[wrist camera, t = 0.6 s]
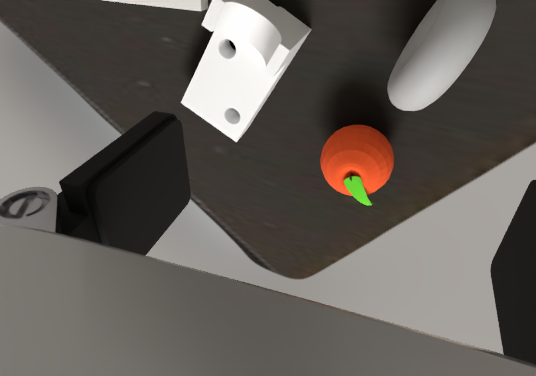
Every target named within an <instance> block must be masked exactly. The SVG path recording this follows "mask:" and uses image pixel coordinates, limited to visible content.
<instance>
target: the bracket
mask: <svg viewBox="0 0 536 376" xmlns="http://www.w3.org/2000/svg"><path fill="white" fill-rule="evenodd" d="M202 26H204V27H205V28H207V29H208V30H209V31H211V32H212V31H214V33H213V35H212V37H211V39H210V41H209V44H208V46H207V48H206V50H205V52H204V54H203V56H202V59H201V61H200V63H199V65H198V67H197V69H196V71H195V74H194V76H193V78H192V80H191V82H190V84H189V87H188V89H187V91H186V93H185V95H184V97H183V99H182V102H181V103H182V104H183V105H185V106H186V107H188V108H189V109H190V110H192V111H193V112H195V113H196V114H197V115H199V116H200V117H202V118H203V119H204V120H206V121H207V122H209V123H210V124H212V125H213V126H214V127H216V128H217V129H219V130H220V131H221V132H223V133H224V134H226V135H227V136H228V137H230V138H231V139H233V140H234V141H235V142H237V141H238V140H239V139H240V137H241V136H242V135H243V134H244V133H245V131H246V130H247V129H248V127H249V126H250V124H251V123H252V121H253V120H254V118H255V117H256V115H257V113H258V112H259V110H260V109H261V107H262V106H263V104H264V102H265V101H266V99H267V98H268V96H269V95H270V93H271V92H272V90H273V88H274V87H275V85H276V84H277V82H278V81H279V79H280V78H281V76H282V74H283V73H284V71H285V70H286V68H287V67H288V65H289V63H290V62H291V60H292V59H293V57H294V56H295V54H296V53H297V51H298V49H299V48H300V46H301V45H302V43H303V42H304V40H305V39H306V37H307V35H308V34H309V32H310V31H311V29H310V28H309V27H308V26H306V25H305V24H304V23H302V22H301V21H300V20H298V19H297V18H296V17H294V16H293V15H292V14H290V13H289V12H288V11H286V10H285V9H284V8H282V7H281V6H279V7H277V6H276V5H274V4H273V3H271V2H270V1H269V0H212V2H211V4H210V7H209V9H208V11H207V13H206V16H205V18H204V20H203V23H202ZM229 40H230V41H232V42H233V43H234V45H235V47H236V51H235V50H234V49H233V48H232V47H231V46H230V43H229Z"/></svg>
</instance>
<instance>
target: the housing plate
mask: <svg viewBox="0 0 536 376" xmlns="http://www.w3.org/2000/svg"><path fill="white" fill-rule="evenodd" d="M105 1H114V2H123V3H132V4H141V5H150V6H159V7H168V8H177V9H185V10H194V11H203V10H205V9H208V0H105Z"/></svg>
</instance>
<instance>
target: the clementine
mask: <svg viewBox="0 0 536 376" xmlns="http://www.w3.org/2000/svg"><path fill="white" fill-rule="evenodd" d="M393 166H394V156H393V151H392V147H391V145H390V143H389V141H388V140H387V138H386V137H385V136H384V135H383V134H381V133H380V132H379V131H378V130H376V129H374V128H372V127H370V126H366V125H350V126H346V127H343V128H341V129H339V130H337V131H336V132H335V133H334V134H332V135H331V136H330V137H329V139H328V140H327V141H326V143H325V145H324V147H323V150H322V154H321V169H322V171H323V174H324V177H325V179H326V180H327V182H328V183H329V184H330V185H331V186H332V187H333V188H334V189H335V190H337V191H339V192H341V193H343V194H346V195H350V196H353V197H354V198H356V199H357V200H358V201H359V202H361V203H362V204H364V205H372V204H373V203H372V204H371V203H370V201H369V199H368V197H367V195H368V194H370V193H373V192H375V191H376V190H377V189H379V188H380V187H381V186H383V185H384V184H385V183H386V181H387V180H388V179H389V177H390V174H391V172H392V169H393Z"/></svg>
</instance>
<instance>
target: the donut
mask: <svg viewBox="0 0 536 376" xmlns="http://www.w3.org/2000/svg"><path fill="white" fill-rule="evenodd" d="M495 10H496V1H495V0H437V1H436V2H435V4H434V5H433V6H432V8H431V9H430V10H429V11H428V13H427V14H426V15H425V17H424V18H423V20H422V21H421V23H420V24H419V26H418V27H417V29H416V30H415V32H414V33H413V35H412V36H411V38H410V39H409V41H408V43H407V45H406V46H405V48H404V50H403V51H402V53H401V55H400V57H399V59H398V61H397V62H396V64H395V67H394V69H393V71H392V73H391V75H390V78H389V81H388V88H387V89H388V95H389V99H390V101H391V102H392V104H393V105H394V106H396V107H397V108H398V109H401V110H404V111H416V110H420V109H423V108H425V107H426V106H428V105H429V104H431V103H432V102H434V101H435V100H437V99H438V98H439V97H440V96H441V95H442V94H443V93H444V92H445V91H446V90H447V89H448V88H449V87H450V86H451V85H452V84H453V82H454V81H455V80H456V79H457V78H458V77H459V75H460V74H461V73H462V71H463V70H464V69H465V67H466V66H467V65H468V63H469V62H470V61H471V59H472V58H473V56H474V54H475V53H476V51H477V50H478V48H479V47H480V45H481V43H482V42H483V40H484V38H485V36H486V34H487V32H488V30H489V28H490V26H491V23H492V20H493V17H494V14H495Z"/></svg>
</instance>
